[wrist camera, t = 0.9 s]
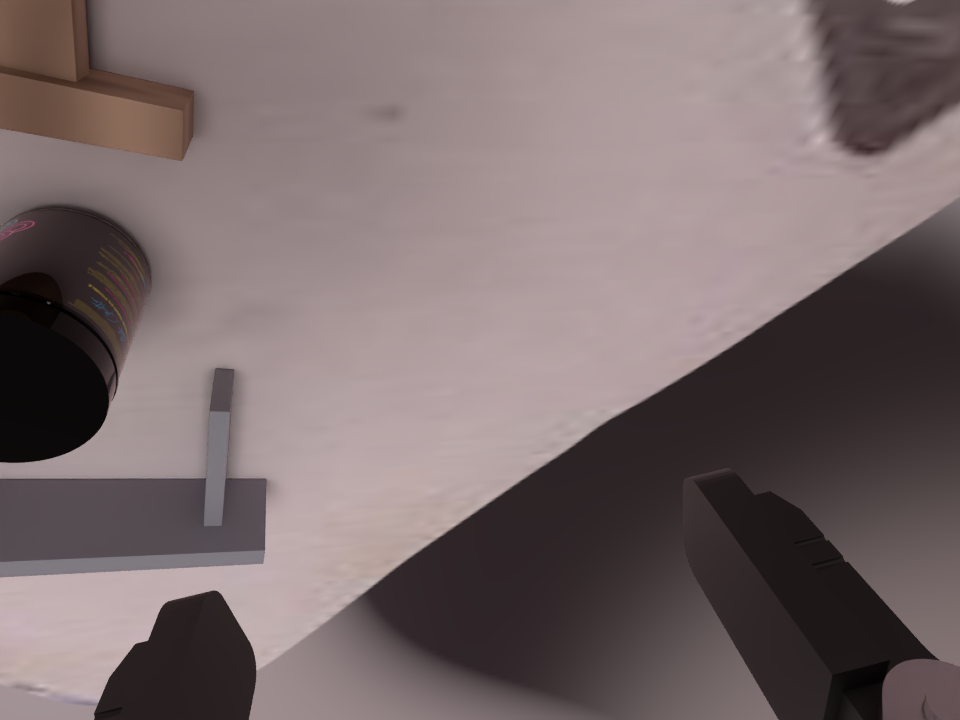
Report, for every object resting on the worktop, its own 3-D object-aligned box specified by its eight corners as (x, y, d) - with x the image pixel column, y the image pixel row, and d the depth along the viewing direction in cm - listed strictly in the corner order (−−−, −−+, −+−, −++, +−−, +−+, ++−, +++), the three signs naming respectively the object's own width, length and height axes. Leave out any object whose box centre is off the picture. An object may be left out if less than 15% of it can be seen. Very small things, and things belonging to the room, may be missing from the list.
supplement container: (66, 172, 27) (-26, 272, 19) (184, 277, 31) (151, 397, 23) (-43, 256, 28) (-178, 388, 19) (86, 348, 32) (21, 489, 23)
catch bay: (-114, 495, 33) (-178, 586, 28) (-161, 345, 28) (-249, 425, 24) (264, 491, 41) (263, 563, 36) (278, 372, 36) (279, 437, 31)
